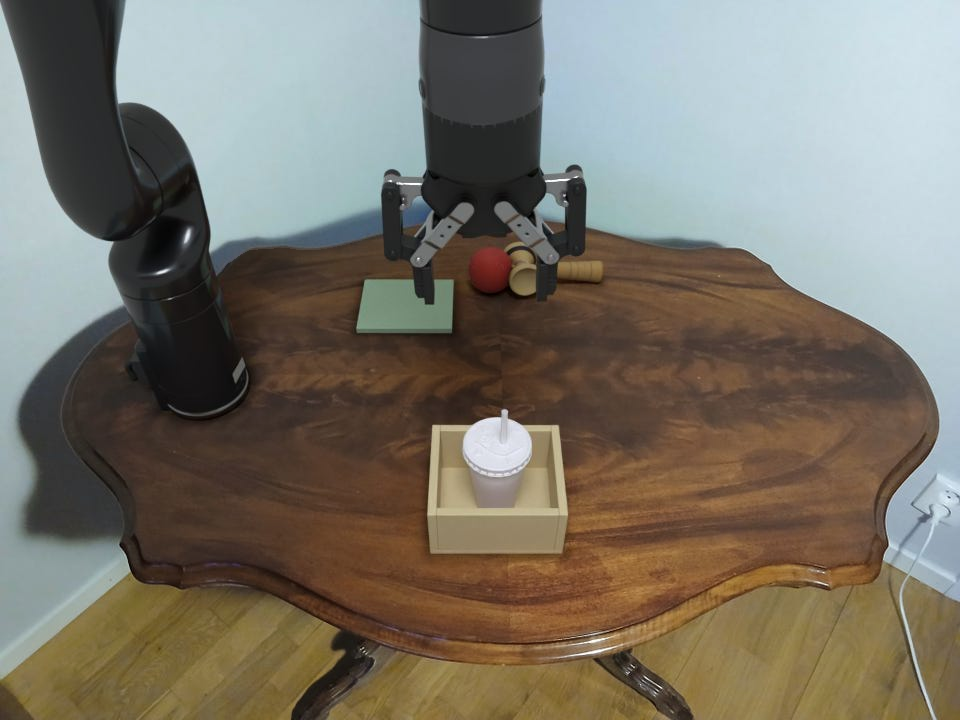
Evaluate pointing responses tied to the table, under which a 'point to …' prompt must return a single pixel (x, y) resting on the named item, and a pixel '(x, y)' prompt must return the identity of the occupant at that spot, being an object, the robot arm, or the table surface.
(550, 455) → the bin
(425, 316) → the mat
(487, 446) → the smoothie
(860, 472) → the table surface
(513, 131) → the robot arm
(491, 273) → the kendama
